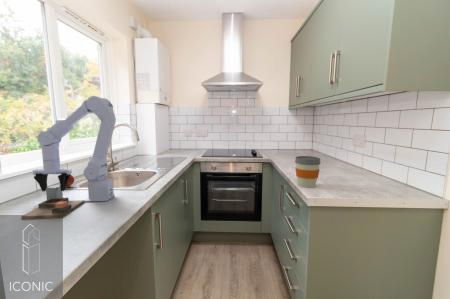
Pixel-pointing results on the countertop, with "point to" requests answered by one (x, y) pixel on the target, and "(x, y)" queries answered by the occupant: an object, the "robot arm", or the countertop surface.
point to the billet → (54, 192)
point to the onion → (70, 181)
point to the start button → (61, 204)
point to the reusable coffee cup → (307, 171)
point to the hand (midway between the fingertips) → (54, 190)
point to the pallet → (52, 209)
